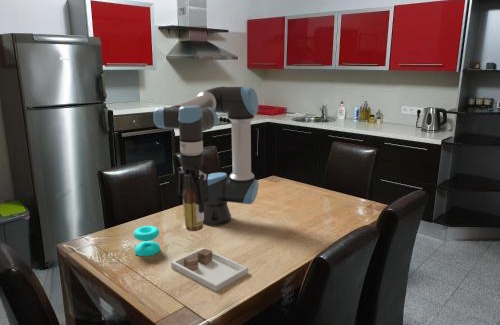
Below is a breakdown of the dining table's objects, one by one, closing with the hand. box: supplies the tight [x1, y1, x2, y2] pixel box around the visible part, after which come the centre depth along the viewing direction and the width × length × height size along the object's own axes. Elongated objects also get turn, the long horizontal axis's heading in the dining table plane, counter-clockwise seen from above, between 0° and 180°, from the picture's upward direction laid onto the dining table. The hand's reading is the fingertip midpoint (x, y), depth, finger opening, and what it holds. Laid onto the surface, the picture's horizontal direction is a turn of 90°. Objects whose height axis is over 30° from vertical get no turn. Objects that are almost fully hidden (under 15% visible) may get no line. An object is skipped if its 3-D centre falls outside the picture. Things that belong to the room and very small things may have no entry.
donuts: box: [133, 225, 161, 257], centre depth 157 cm, size 10×10×10 cm
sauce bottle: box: [183, 174, 204, 232], centre depth 133 cm, size 7×6×20 cm
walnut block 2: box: [197, 248, 213, 265], centre depth 149 cm, size 4×4×4 cm
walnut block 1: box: [184, 255, 198, 271], centre depth 144 cm, size 4×4×4 cm
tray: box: [170, 246, 249, 293], centre depth 143 cm, size 24×16×3 cm, turn 49°
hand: (193, 217), depth 135 cm, fingers closed on sauce bottle, 6 cm apart
